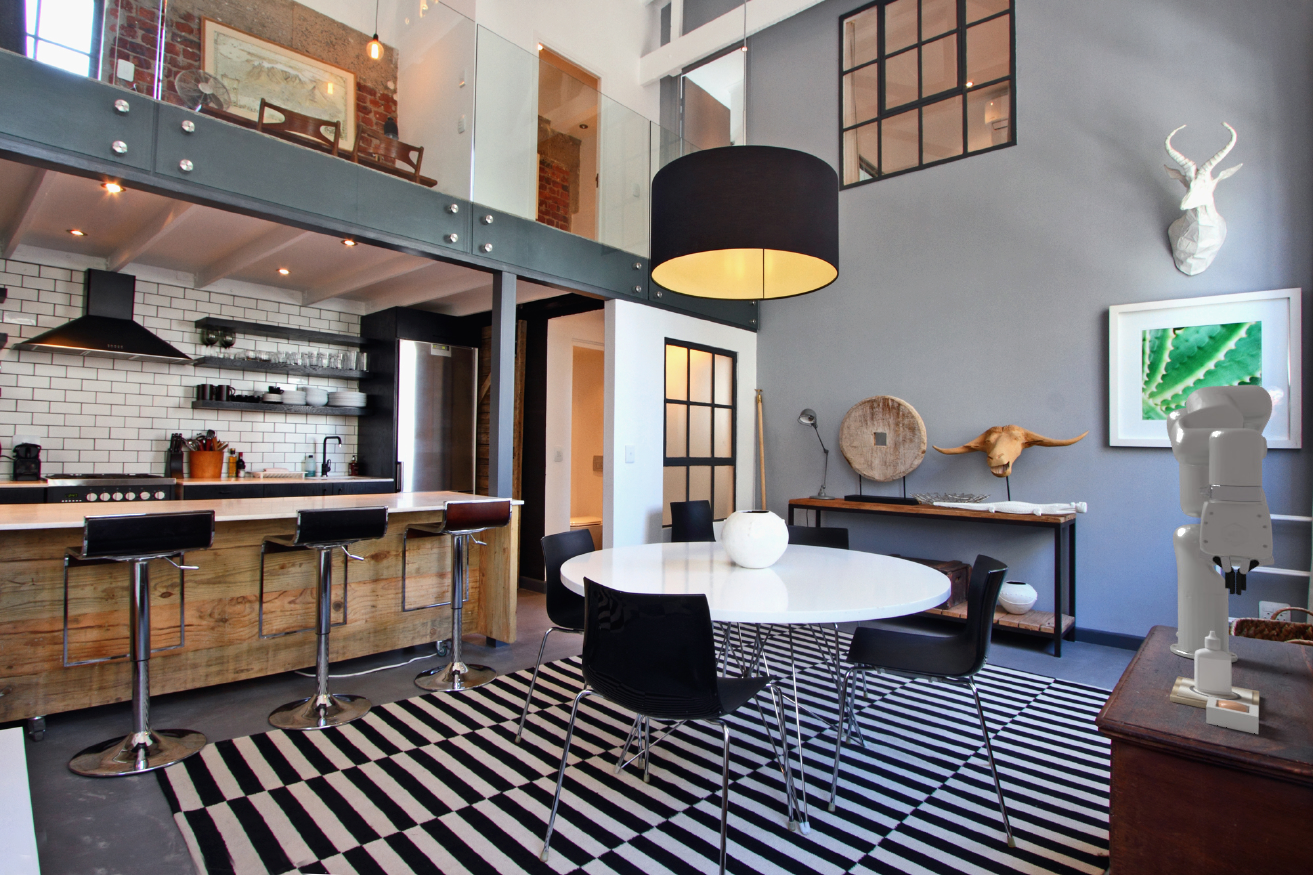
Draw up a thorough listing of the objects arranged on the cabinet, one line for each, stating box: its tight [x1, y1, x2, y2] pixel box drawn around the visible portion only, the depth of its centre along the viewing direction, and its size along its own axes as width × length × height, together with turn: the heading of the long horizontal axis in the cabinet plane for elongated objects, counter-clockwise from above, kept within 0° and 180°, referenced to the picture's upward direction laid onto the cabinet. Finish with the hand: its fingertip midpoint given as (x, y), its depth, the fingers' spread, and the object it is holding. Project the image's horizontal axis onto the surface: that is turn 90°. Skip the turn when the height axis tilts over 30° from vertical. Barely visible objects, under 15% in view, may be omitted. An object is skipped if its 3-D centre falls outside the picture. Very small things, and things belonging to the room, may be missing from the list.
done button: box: [1219, 700, 1246, 712], centre depth 122 cm, size 4×4×2 cm
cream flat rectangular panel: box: [1169, 676, 1260, 709], centre depth 134 cm, size 16×13×1 cm
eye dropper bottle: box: [1193, 631, 1233, 695], centre depth 134 cm, size 4×6×12 cm
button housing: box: [1205, 696, 1260, 735], centre depth 122 cm, size 7×7×3 cm
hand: (1235, 593), depth 125 cm, fingers closed
